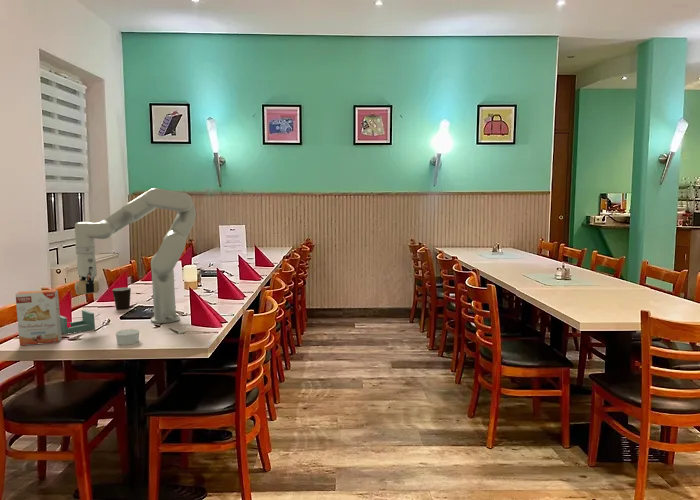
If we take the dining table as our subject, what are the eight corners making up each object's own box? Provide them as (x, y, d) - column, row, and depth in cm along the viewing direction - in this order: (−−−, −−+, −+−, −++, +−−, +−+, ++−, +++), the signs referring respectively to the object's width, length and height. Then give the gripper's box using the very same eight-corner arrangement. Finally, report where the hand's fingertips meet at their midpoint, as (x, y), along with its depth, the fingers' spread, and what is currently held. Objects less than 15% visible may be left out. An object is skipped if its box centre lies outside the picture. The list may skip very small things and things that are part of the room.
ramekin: (143, 339, 223) (142, 328, 222) (135, 345, 214) (134, 334, 213) (121, 339, 222) (120, 329, 222) (112, 346, 214) (111, 335, 213)
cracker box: (19, 346, 215) (14, 293, 212) (23, 342, 221) (19, 291, 218) (58, 342, 219) (54, 291, 216) (62, 339, 225) (58, 288, 222)
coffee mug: (127, 310, 276) (126, 290, 275) (110, 310, 276) (109, 290, 275) (137, 305, 287) (135, 286, 286) (120, 305, 288) (119, 286, 287)
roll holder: (95, 328, 240) (93, 313, 239) (65, 334, 231) (63, 318, 230) (85, 325, 247) (84, 309, 246) (56, 330, 238) (54, 315, 237)
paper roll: (94, 291, 246) (93, 278, 245) (99, 293, 241) (98, 279, 241) (75, 294, 240) (74, 280, 239) (80, 295, 236) (79, 281, 235)
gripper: (102, 251, 235) (103, 293, 237) (86, 248, 247) (88, 288, 249) (84, 252, 230) (85, 295, 232) (68, 249, 242) (70, 290, 244)
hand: (87, 291), depth 241 cm, fingers closed on paper roll, 6 cm apart
